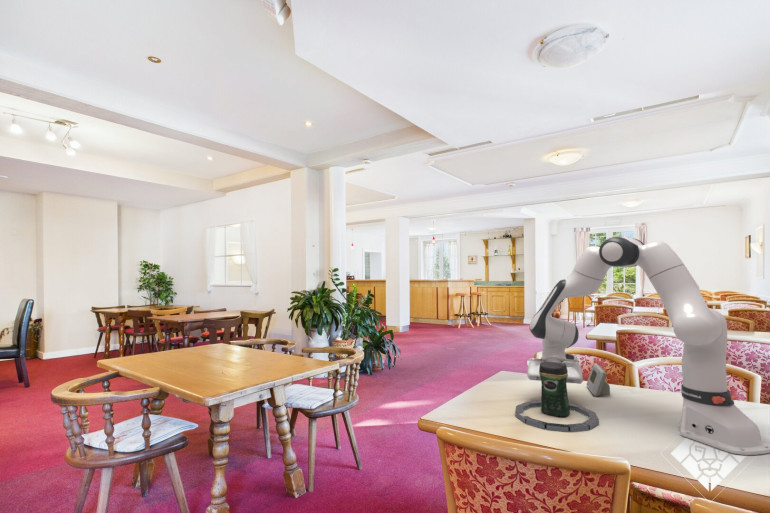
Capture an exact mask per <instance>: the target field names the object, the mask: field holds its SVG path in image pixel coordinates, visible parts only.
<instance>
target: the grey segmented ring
mask: <svg viewBox="0 0 770 513" xmlns="http://www.w3.org/2000/svg"><path fill="white" fill-rule="evenodd" d="M569 406H570V411H574V410H575V411H574V412H578V413H580V414H581V415H583V414H584V416H585V415H586V417H587V416H588V419H587V420H585V421H584V422H578V423H568V424H565V423H556V422H555V423H554V422H547V421H543V420H540V419H535V418H532V417H530V416H529V415H528V414H526V413H524V410H525V411H527V410H530V409H531V408H541V399H540V400H531V401H525V402H522V403H520V404H517V405H516V406H515V411H514V412H515V413H514V414H515V418H517V419H518V420H519V421H521V422H523V423H524V424H526V425H529V426H531V425H532V427H535V428H539V429H541V428H542V430H546V431H555V432H564V433H575V432H576V433H577V432H586V431H591V430H593V429H594V428H596V427H597V426H599V425H600V424H599V423H600V419H599V417H598V414H597V413H596V412H595V411H593V410H591V409H588V408H586V407H585V406H582V405H580V404H574V403H570V402H569Z"/></svg>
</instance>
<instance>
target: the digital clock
mask: <svg viewBox="0 0 770 513" xmlns="http://www.w3.org/2000/svg"><path fill="white" fill-rule="evenodd" d="M607 376H608V374H607V372H606V371H605V370H604V369H603V368H602V366H600V365H599V364H598V363H594V364H593V365H592V367H591V370H590V374H589V376H588V379H587V381H586V386H587V389H588V390H589V391H590V392H591V394H592V395H593V396H594V397H599V396H608V397H609V396H611V386H610V384H609V383H608V381H607V380H606V379H607Z"/></svg>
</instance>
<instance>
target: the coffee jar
mask: <svg viewBox="0 0 770 513" xmlns="http://www.w3.org/2000/svg"><path fill="white" fill-rule="evenodd" d="M539 374H540V377H541V381H540V383H541V384H540V385H541V396H540V400H541V407H540V411H541V412H542V413H543V414H546V415H550V416H555V417H566V416H567V417H568V416H569V415H570V414H571V410H570V406H569V403H570V401H569V396H568V395H569V394H568V388H567V383H566V379H567V376H568V371H567V366H566V364H564V363H557V362H548V361H544V362H542V363H540V368H539Z"/></svg>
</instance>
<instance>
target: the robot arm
mask: <svg viewBox="0 0 770 513" xmlns="http://www.w3.org/2000/svg"><path fill="white" fill-rule="evenodd" d="M637 266H638V267H640V269H641V270H642V271H643V272H644V273H645V275H646V276H647V279H648V280H649V282H650V283H651V285H652V287H653V289H654V290H655V292H656V293H657V295H658V297H659V298H660V300H661V302H662V304H663V307H664V309H665V312H666V314H667V316H668V319H669V321H670V323H671V325H672V328H673V334H675V336H676V338H677V339H678V340H679V341H681V343H683V351H682V358H681V373H682V384H681V389H680V390H681V391H680V392H681V397H682V398H683V400H682V411H681V419H680V424H679V427H678V428H679V435H680V436H681V437H685V438H688V439H689V440H690V439H691V440H692V441H696V442H698V443H702V444H705V445H707V446H710V447H713V448H715V449H719V450H722V451H725V452H727V453H730V454H733V455H735V454H736V455H743V456H755V455H756V456H757V455H765V454H769V453H770V443H767V442H765V441H763V440H762V436H761V431H760V429H759V427H758V425H757V424H756V423H755V422H754V421H753V420H752V419H750V417H748V416H747V415H746V414H745V413H744V412H743V411H742V410H741V409H740V408H739V407H737V405H735V402H734V401H736V400H737V401H738V396H737V395H731V392H730V390H729V389H728V378H727V352H728V323H727V322H728V321H727V319H726V317H725V316H724V315H723V314H722V313H721V312H720V311H718V310H715V309H713V308H710V307H709V306H708V305H707V302H706V301H705V298H704V297H703V295H702V293H701V290H700V287H699V285H698V283H697V282H696V280H695V279H694V277H693V276H692V274H691V273H690V271H689V270H688V268H687V267H686V265H685V263H684V262H683V261H682V259H681V258H680V257H679V255H678V254H677V253H676V251H675V250H673V249H672V247H671V246H670V245H668V243H666V242H664V241H662V240H661V241H660V240H655V241H650V242H648V243H646V244H644V242H642V240H639V239H637V238H632V237H629V236H612V237H609V238H607V239H605V240H604V241H603V242H602V243H601V244H600V246H597V245H591V246H588V247H586V248H585V249H584V250H583V251H582V253H581V254H580V256H579V257H578V260H577V261H576V263H575V265H574V267H573V270H572V271H571V272H570V274H569V275H568V276H567V277H566V278H564V279H561V280H559V281H558V282H557V283H556V284H555V285H554V287H553V288H552V290H550V293H549V294H548V296H547V297H546V299H545V300H544V302H543V303H542V305H541V307H540V308H539V309H538V311H537V312H536V313H535V314H534V315H533V317H532V319H531V320H530V322H529V330H530V331H529V332H530V333H531V334H532V336H533V337H535V339H541V340H542V342H541V344H542V351H541V352H542V353H541V354H542V358H534V357H533V358H531V357H530V358H529V359H527V361H526V366H527V374H526V375H527V379H528V380H530V381H538V382H539V381H540V382H541V377H540V374H539V368H540V363H542V362H544V361H548V362H557V363H564V364H566V366H567V371H568V376H567V379H566V384H578V385H579V384H582V383H583V382H584V376H583V370H582V366H581V365H580V363H579V360H578V356H576V355H574V354H571V353H567V352H565V351H566V349H569V348H570V347H572V346H574V345H575V344H576V343H577V342H578V340H579V335H580V334H579V329H578V326H577V325H576V324H575V323H574V322H571V321H567V320H565V319H560V318H557V317H555V316H554V317H553V316H552V314H554V312H555V310H556V308H557V307H558V306H559V304H560V303H561V302H562V301H563V300H566V299H568V298H577V297H579V298H580V297H582V298H583V297H587V296H592V295H593V294H595V293H597V292H598V291H599V289H600V288H601V286H602V284H603V281H604V279H605V277H606V275H607V273H608V271H609V270H610V269H611V268H612V267H613V268H632V267H637Z"/></svg>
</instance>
